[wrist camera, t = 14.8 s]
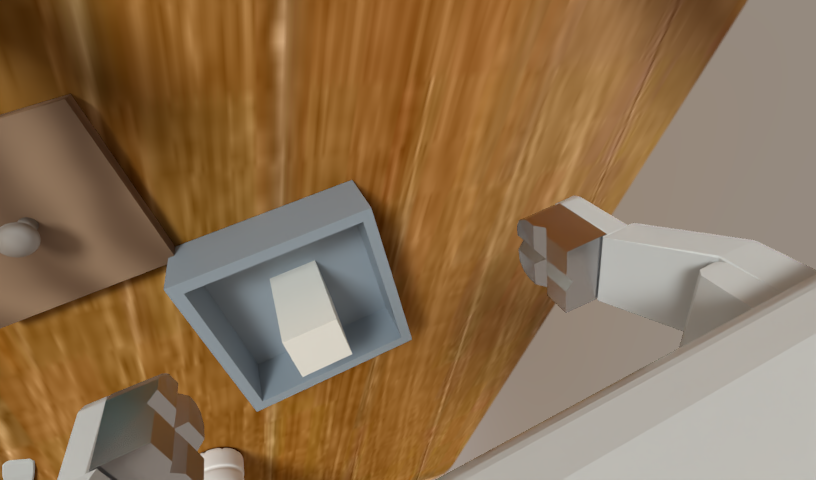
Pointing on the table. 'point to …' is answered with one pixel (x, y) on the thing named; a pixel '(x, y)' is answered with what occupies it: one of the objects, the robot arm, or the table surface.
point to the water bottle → (223, 464)
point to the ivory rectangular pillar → (308, 319)
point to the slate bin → (253, 300)
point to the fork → (18, 469)
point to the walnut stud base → (66, 213)
